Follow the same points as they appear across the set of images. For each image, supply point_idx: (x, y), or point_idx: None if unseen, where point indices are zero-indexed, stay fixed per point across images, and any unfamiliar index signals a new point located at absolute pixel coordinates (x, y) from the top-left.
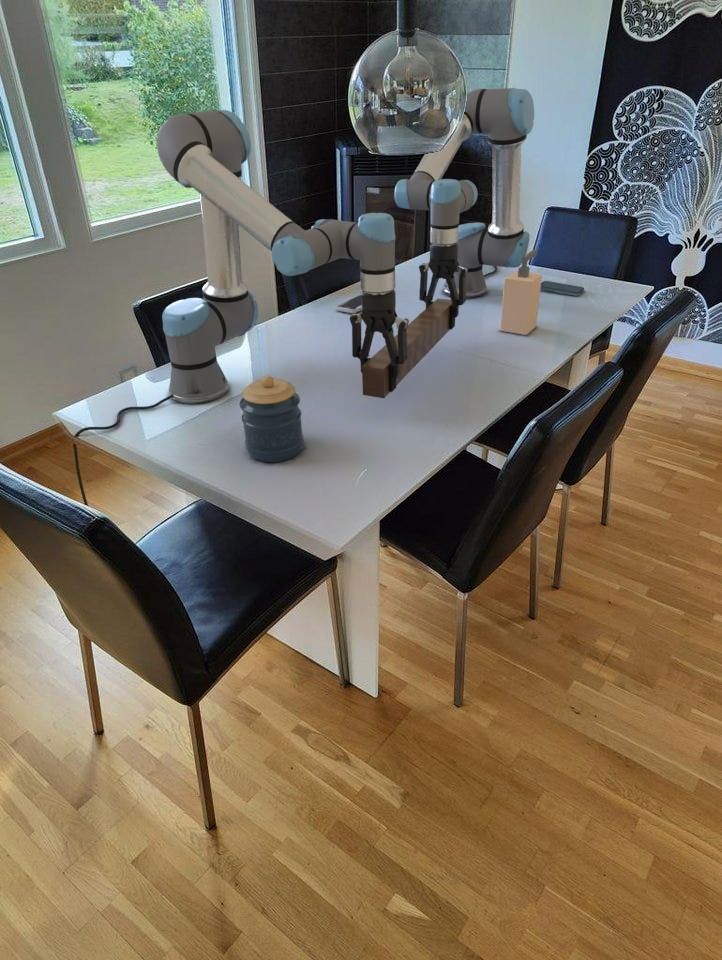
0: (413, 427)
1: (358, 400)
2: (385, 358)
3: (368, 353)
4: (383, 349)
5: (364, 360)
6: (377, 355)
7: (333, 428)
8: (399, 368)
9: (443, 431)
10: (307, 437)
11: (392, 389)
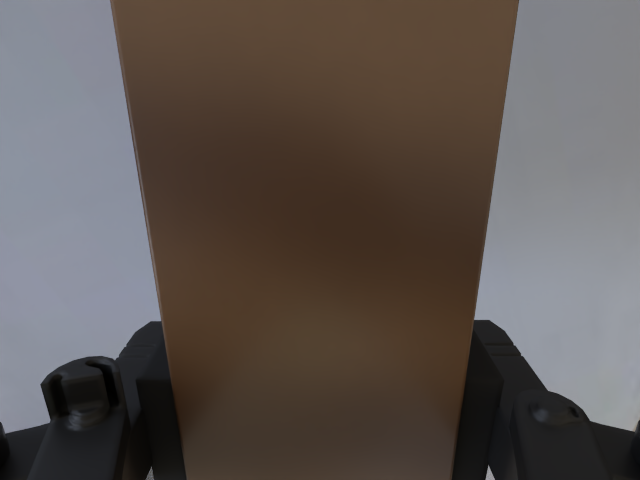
0: (494, 256)
1: None
2: (355, 367)
3: (124, 460)
4: (172, 65)
5: (144, 468)
6: (209, 312)
7: None
8: (529, 369)
9: (632, 243)
10: None
11: None
